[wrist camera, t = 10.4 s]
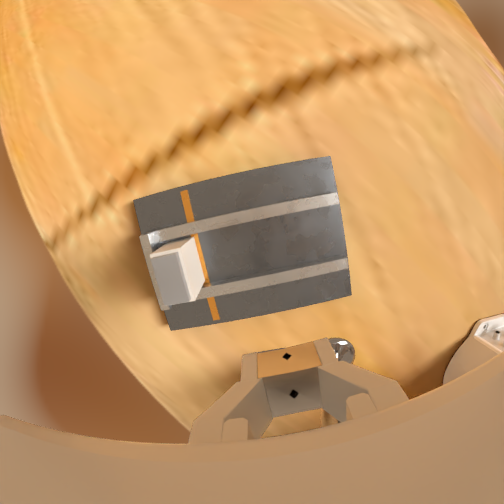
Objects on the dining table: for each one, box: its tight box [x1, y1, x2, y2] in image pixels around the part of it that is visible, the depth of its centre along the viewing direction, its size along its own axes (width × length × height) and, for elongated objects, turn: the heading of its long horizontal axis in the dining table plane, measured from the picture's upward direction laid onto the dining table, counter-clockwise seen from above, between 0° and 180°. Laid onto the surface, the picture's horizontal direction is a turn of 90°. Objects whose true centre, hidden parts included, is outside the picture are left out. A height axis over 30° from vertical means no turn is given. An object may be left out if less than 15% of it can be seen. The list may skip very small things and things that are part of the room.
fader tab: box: [150, 236, 205, 306], centre depth 27 cm, size 3×5×7 cm, turn 12°
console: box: [133, 156, 352, 331], centre depth 30 cm, size 22×16×5 cm
